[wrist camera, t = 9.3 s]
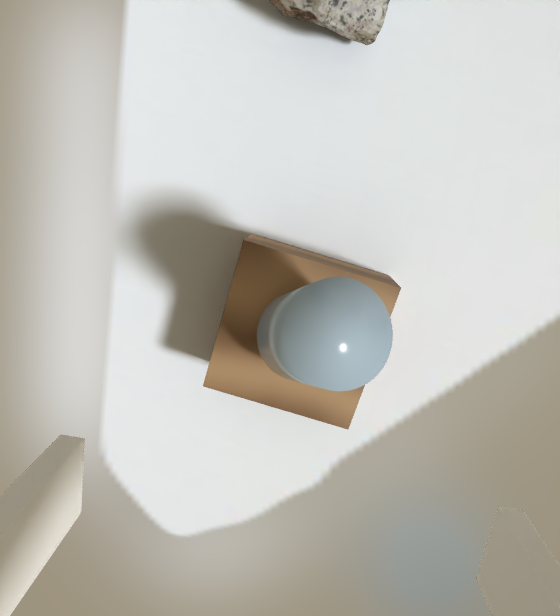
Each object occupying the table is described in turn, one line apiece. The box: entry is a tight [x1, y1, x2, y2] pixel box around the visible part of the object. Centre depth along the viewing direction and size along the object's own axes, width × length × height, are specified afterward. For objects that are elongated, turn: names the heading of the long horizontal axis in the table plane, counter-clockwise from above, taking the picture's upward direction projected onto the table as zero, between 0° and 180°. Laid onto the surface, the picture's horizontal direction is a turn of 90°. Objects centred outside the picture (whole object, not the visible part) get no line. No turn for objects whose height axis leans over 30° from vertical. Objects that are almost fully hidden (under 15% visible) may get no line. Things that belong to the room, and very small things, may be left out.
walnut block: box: [203, 234, 401, 429], centre depth 35 cm, size 11×11×5 cm
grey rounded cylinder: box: [257, 277, 393, 391], centre depth 28 cm, size 6×6×7 cm
